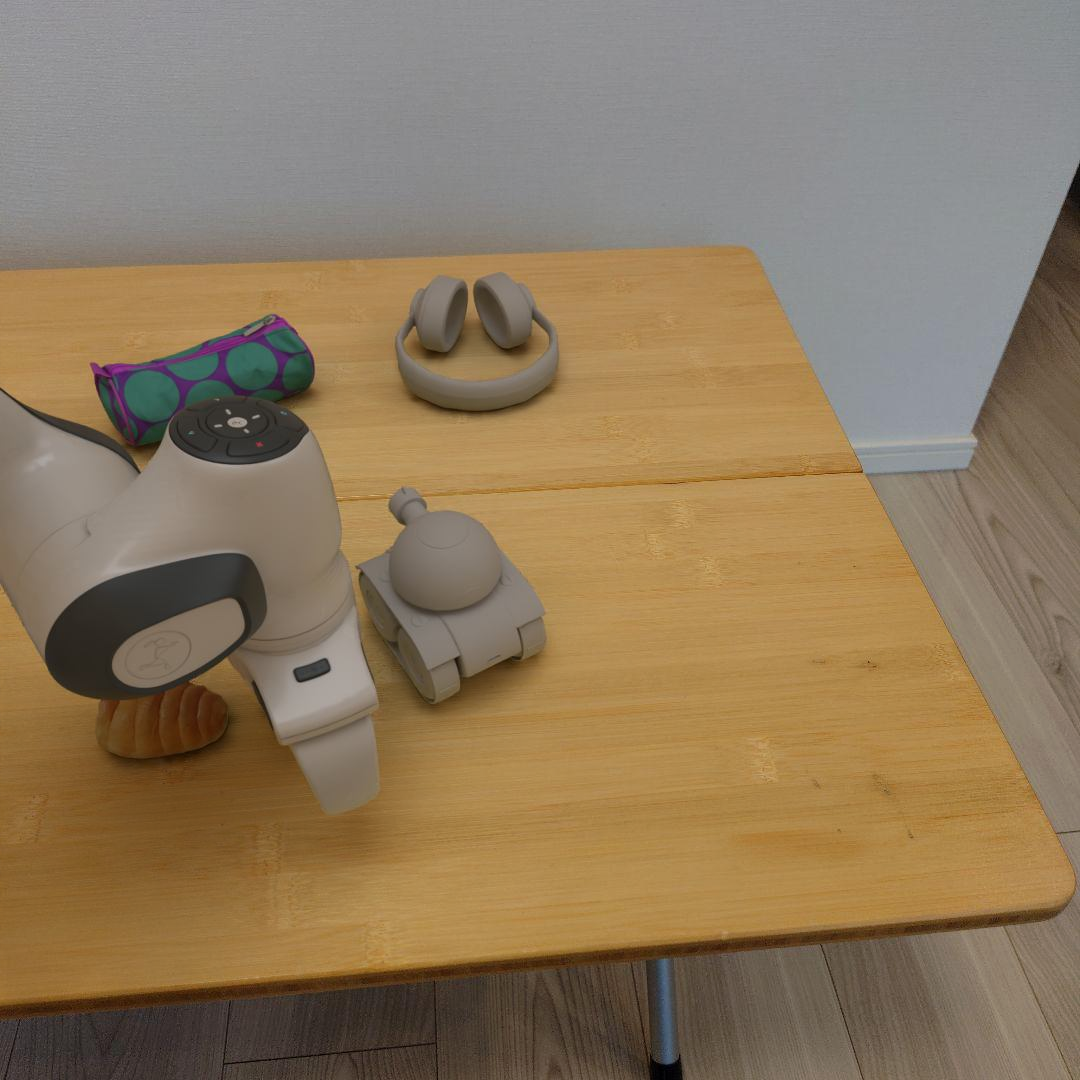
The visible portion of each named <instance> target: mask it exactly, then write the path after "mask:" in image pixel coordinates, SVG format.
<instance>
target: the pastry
mask: <svg viewBox="0 0 1080 1080" xmlns="http://www.w3.org/2000/svg"><path fill="white" fill-rule="evenodd" d="M228 713H229V705H228V703H227V701H225V699H224V698H223V696H222V695H220V694H219V693H216V692H213V691H211V690H209V689H208V688H207V687H206V686H204V685H203V684H201V685H196V684H194V683H193V682H192V681H188V682H186V683H184V684H182V685H179V686H177V687H175V688H173V689H170V690H167V691H165V692H162V693H159V694H155V695H152V696H148V697H144V698H139V699H133V700H117V701H111V700H99V702H98V710H97V714H96V716H95V717H96V718H95V739H96V744H97V745H98V747H100V748H101V749H103V750H105V752H106V751H107V752H109V753H112V754H114V755H117V756H120V757H123V758H131V759H140V760H142V759H149V758H157V757H164V756H172V755H175V754H182V753H187V752H192V751H195V750H199V749H201V748H204V747H205V746H207V745H209V744H211V743H214V742H216V741H218V740H219V739H220V738H221V737H222V735H224V733H225V731H226V728H227V726H228V722H229V714H228Z"/></svg>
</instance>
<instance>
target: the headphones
mask: <svg viewBox="0 0 1080 1080" xmlns="http://www.w3.org/2000/svg"><path fill="white" fill-rule="evenodd" d="M472 295H473V302H474V307H475V309H476V310H475V311H476V313H477V315H478V318H479V321H480V322H481V324H482V326H483V328H484V329H485V332H486V333H487V334H488V336H489V337H490V338H491V340H492V341H493V342H494V343H495V344H496V345H497V346H499V347H500V348H502V349H511V348H515V347H517V346H520V345H524V344H525V343H526V342H527V341H528V340H529V339H530V338H531V337H532V332H533V321H534V322H535V323H536V324H537V325H538V326H539V327H540V328H541V329H542V330H543V331H545V333H546V334H547V336H548V347H547V349H546V351H545V352H544V353H543V354H542V355H541V356H540V357H539V358H538V359H537V360H536V361H534V362H533V363H532V364H531V365H529V366H528V367H525V368H524V369H522V370H520V371H518V372H515V373H513V374H510V375H507V376H503V377H498V378H495V379H489V380H488V379H487V380H467V379H457V378H451V377H448V376H445V375H443V374H442V375H441V374H438V373H435V372H434V371H431V370H429V369H428V368H426V367H424V366H423V365H421V364H420V363H417V362H416V361H415V360H414V359H413V358H412V357H411V356H410V355H409V353H407V352H406V349H405V345H404V342H405V340H406V338H407V337H408V336H409V334H410V332H411V331H412V330H413V328H414V327H415V330H416V333H417V337H418V341H419V343H420V345H421V346H423V347H424V348H425V349H426V350H430V351H434V352H439V353H447V352H449V351H450V350H451V349H453V347H454V346H455V345H456V343H457V341H458V339H459V337H460V334H461V332H462V329H463V326H464V323H465V319H466V316H467V311H468V303H469V289H468V284H467V282H466V281H465V280H464V279H462V278H457V277H452V276H448V275H443V274H442V275H441V274H438V275H436V276H435V277H434V278H433V279H432V280H431V281H430V283H429V284H428V285H427V286H426V287H425V288H421V287H420V288H418V289H417V290H416V291H415V293H414V294H413V297H412V300H411V303H410V307H409V312H408V316H407V318H406V320H405V321H404V323H403V324H402V325H401V326H400V328H399V329H398V331H397V333H396V336H395V339H394V349H395V355H396V361H397V367H398V372H399V374H400V377H401V380H402V382H403V383H404V385H405V386H406V387H407V388H408V389H409V390H410V391H411V392H412V393H413V394H414V395H416V396H417V397H418V398H420V399H422V400H425V401H427V402H430V403H432V404H434V405H436V406H438V407H441V408H444V409H445V408H446V409H454V410H460V411H471V412H477V411H478V412H479V411H493V410H498V409H503V408H508V407H511V406H515V405H518V404H522V403H525V402H527V401H528V400H530V399H531V398H533V397H535V396H536V395H537V394H539V393H541V392H542V391H544V390H545V388H547V387H548V386H549V385H550V384H551V382H553V379H554V377H556V374H557V372H558V368H559V360H560V348H559V336H558V332H557V329H556V327H555V325H554V324H553V323H552V321H550V320H549V319H548V318H547V317H546V315H544V314H543V313H542V312H541V310H539V309H538V307H537V304H536V301H535V298H534V295H533V294H532V292H531V290H530V288H528V287H527V285H525V284H524V283H523V282H519V283H517V281H515V280H514V279H513V278H512V277H511V276H510V275H509V274H508V273H505V272H504V271H498V272H493V273H491V274H487V275H485V276H482V277H479V278H477V279H476V280H475V282H474V283H473V289H472Z"/></svg>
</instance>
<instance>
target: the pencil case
mask: <svg viewBox="0 0 1080 1080" xmlns="http://www.w3.org/2000/svg"><path fill="white" fill-rule="evenodd" d="M89 366H90V369H91V371H92V373H93V375H94V376H93V379H94V385H95V390H96V392H97V395H98V398H99V400H100V403H101V405H102V408H103V409H104V412H105V413H106V415H107V417H108V419H109V421H110V422H111V424H112V425H113V427H114V428H115V429H116V431H117V432H118V433H119V434H120V435H121V437H122V439H123V440H124V441H125V442H126V443H127V444H128V445H130V446H131V447H135V448H136V447H139V446H143V445H144V446H145V445H149V444H155V443H158V442H160V441H161V442H162V440H163V437H164V434H165V431H166V428H167V426H168V424H169V422H170V420H171V419H172V417H173V416H174V415H175V414H176V413H178V412H179V411H180V410H181V409H183V408H185V407H186V406H188V405H190V404H193V403H195V402H198V401H201V400H205V399H209V398H214V397H221V396H248V397H256V398H260V399H265V400H268V401H271V402H274V403H276V402H278V401H280V400H283V399H285V398H288V397H291V396H294V395H295V394H297V393H300V392H304V391H306V390H308V389H309V388H311V385H312V384H313V383H314V380H315V375H316V364H315V359H314V356H313V353H312V351H311V349H310V348H309V346H308V345H307V343H306V342H305V340H304V339H303V338H302V337H300V335H299V332H298V331H297V330H296V329H295V328H294V326H292V325H291V324H290V323H289V322H288V321H287V320H286V319H285V318H284V317H283V316H280V315H278V314H276V313H269V314H267V315H265V316H263V317H262V318H260V319H258V320H255V321H252V322H250V323H249V324H246V325H245V326H243V327H241V328H238V329H235V330H233V331H231V332H229V333H228V334H224V335H221V336H216V337H213V338H210V339H208V340H206V341H203V342H202V343H199V344H197V345H195V346H192V347H190V348H187V349H185V350H182V351H179V352H176V353H173V354H170V355H167V356H164V357H159V358H155V359H151V360H149V361H144V362H143V361H142V362H139V363H123V362H116V363H108V364H105V365H103V366H100V365H99V364H98V363H96V362H95V361H91V362H89Z"/></svg>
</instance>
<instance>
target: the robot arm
mask: <svg viewBox="0 0 1080 1080" xmlns="http://www.w3.org/2000/svg"><path fill="white" fill-rule="evenodd" d="M341 518H342V517H341V513H340V508H339V504H338V500H337V495H336V492H335V487H334V484H333V481H332V476H331V473H330V470H329V467H328V464H327V461H326V458H325V456H324V453H323V450H322V448H321V445H320V443H319V441H318V439H317V436H316V435H315V433H314V432H313V430H312V429H311V427H310V426H309V425H308V424H307V423H306V422H305V421H304V420H303V419H302V418H301V417H300V416H299V415H297V414H295V413H294V412H293V411H291V410H290V409H288V408H286V407H285V406H283V405H280V404H279V403H276V402H271V401H268V400H265V399H260V398H256V397H248V396H221V397H214V398H209V399H205V400H201V401H198V402H195V403H193V404H190V405H188V406H186V407H185V408H183V409H181V410H180V411H179V412H178V413H176V414H175V415H174V416H173V417H172V419H171V420H170V422H169V424H168V426H167V428H166V431H165V434H164V437H163V440H161V442H160V445H159V446H158V448H157V450H156V452H155V453H154V454H153V456H152V457H151V459H150V460H149V461H148V462H147V464H146V465H145V466H144V468H143V469H142V470H140V467H139V466H138V465H137V463H136V462H135V460H134V458H133V457H132V455H131V454H130V453H129V452H128V450H127V449H126V448H125V447H124V446H123V445H122V444H120V443H119V442H118V441H117V440H116V439H114V438H113V437H111V436H110V435H108V434H107V433H104V432H102V431H100V430H98V429H95V428H92V427H91V426H88V425H84V424H81V423H78V422H74V421H72V420H68V419H64V418H61V417H58V416H55V415H51V414H48V413H46V412H43V411H40V410H38V409H35V408H33V407H31V406H29V405H27V404H25V403H23V402H22V401H20V400H18V399H17V398H15V397H14V396H12V395H11V394H9V393H8V392H7V391H6V390H4V389H3V388H2V387H1V386H0V586H1V588H2V590H3V591H4V593H5V594H6V597H7V598H8V600H9V602H10V604H11V606H12V607H13V609H14V611H15V612H16V614H17V616H18V618H19V620H20V621H21V622H20V623H21V625H22V626H23V628H24V630H25V631H26V633H27V635H28V637H29V639H30V640H31V642H32V644H33V645H34V648H35V649H36V651H37V653H38V655H39V656H40V658H41V660H42V661H43V663H44V665H45V666H46V668H47V670H48V672H49V674H50V676H51V677H52V678H53V680H54V681H55V682H56V683H57V684H58V685H59V686H61V688H63V689H65V690H66V691H69V692H70V693H72V694H75V695H78V696H81V697H84V698H89V699H92V700H93V699H94V700H99V701H100V700H111V701H117V700H133V699H139V698H144V697H148V696H152V695H155V694H159V693H162V692H165V691H167V690H170V689H173V688H175V687H177V686H179V685H182V684H184V683H186V682H188V681H189V682H191V681H192V680H195V679H196V678H198V677H200V676H202V675H203V674H205V673H207V672H208V671H210V670H212V669H213V668H214V667H217V665H218V664H220V663H221V662H223V661H224V660H226V659H227V660H228V662H229V663H230V665H231V666H232V667H233V668H234V670H235V671H236V672H237V673H238V674H239V676H240V677H241V679H242V680H243V682H244V683H245V684H246V685H247V687H248V688H249V689H250V691H252V693H253V694H254V695H255V698H256V699H257V702H258V704H259V705H260V707H261V709H262V711H263V713H264V715H265V717H266V719H267V722H268V724H269V727H270V729H271V731H272V732H274V734H275V738H276V740H277V743H278V744H279V745H280V746H289V748H290V751H291V752H292V755H293V756H294V758H295V760H296V763H297V764H298V767H299V768H300V771H301V773H302V775H303V776H304V778H305V781H306V782H307V785H308V786H309V788H310V790H311V793H312V795H313V796H314V799H315V800H316V802H317V803H318V805H319V807H320V809H321V811H323V813H324V814H325V815H328V816H338V815H341V814H344V813H347V812H349V811H353V810H355V809H357V808H359V807H362V806H364V805H366V804H368V803H370V802H371V801H373V800H374V799H375V798H376V797H377V796H378V794H379V793H380V789H381V788H380V787H381V781H380V780H381V779H380V767H379V766H380V765H379V756H378V745H377V738H376V732H375V727H374V722H373V717H372V713H374V712H376V711H378V710H379V708H380V699H379V694H378V691H377V687H376V684H375V683H376V682H375V679H374V676H373V673H372V671H371V668H370V665H369V663H368V659H367V656H366V652H365V649H364V645H363V632H362V631H363V630H362V625H361V619H360V614H359V609H358V604H357V599H356V593H355V588H354V583H353V577H352V572H351V568H350V565H349V562H348V560H347V557H346V555H345V554H344V552H343V551H342V549H341V548H340V546H341V542H342V535H343V526H342V519H341Z"/></svg>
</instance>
